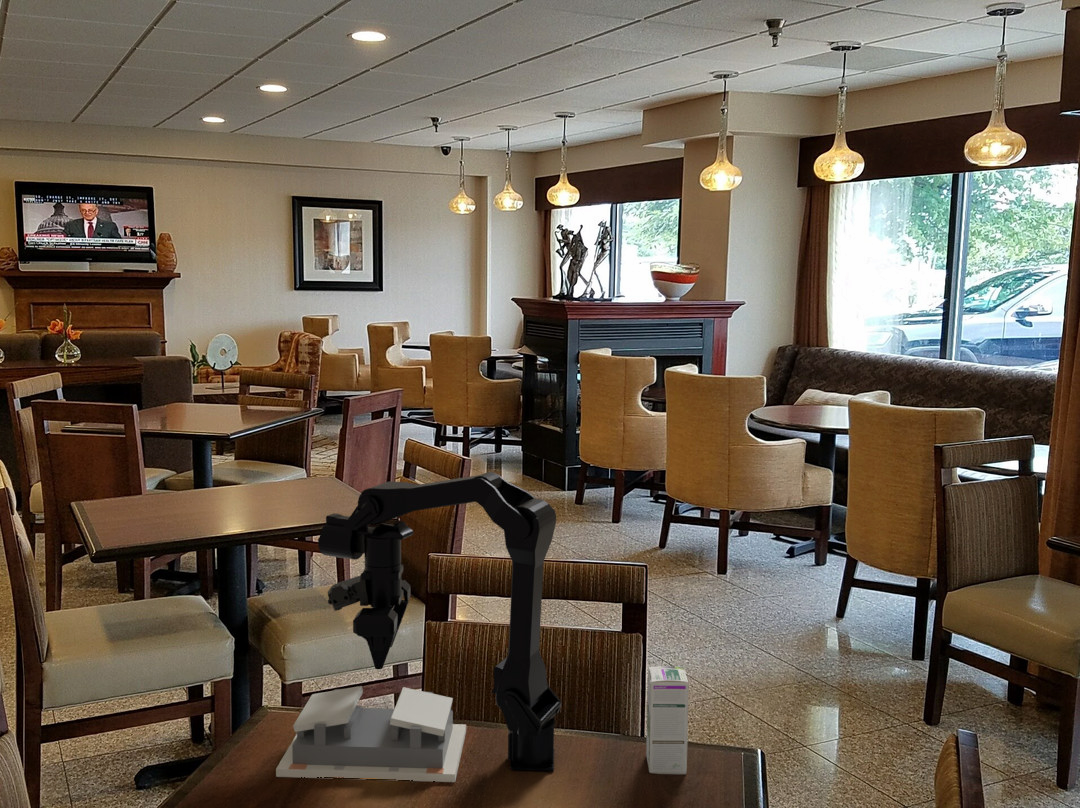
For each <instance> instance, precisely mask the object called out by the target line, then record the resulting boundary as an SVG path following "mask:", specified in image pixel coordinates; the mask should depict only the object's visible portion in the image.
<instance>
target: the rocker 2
mask: <svg viewBox="0 0 1080 808" xmlns="http://www.w3.org/2000/svg"><path fill="white" fill-rule="evenodd" d="M428 692H429V691H424V690H423V691H422V690H417V689H413V688H409V687H404V686H403V687H402V690H401V692H400V694H399V696H398V700H397V701H396V705H395V707H394V708H393V709H394V712H393V714H392V717H391V721H390V725H394V726H399V727H403V728H408V729H410V727H422V732H426V733H430V734H435V735H439V736H443V735H444V731H445V727H446V724H447V720H448V716H449V712H450V709H451V710H452V705H453V699H454V697H449V696H445V695H441V694H435V693H433V694H432V693H428Z"/></svg>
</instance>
